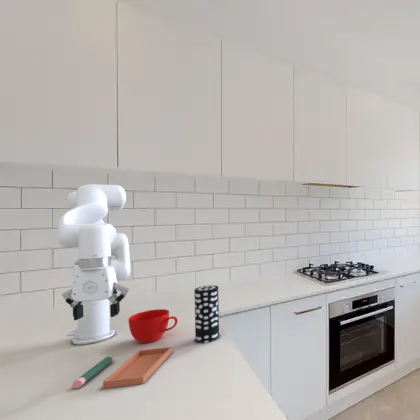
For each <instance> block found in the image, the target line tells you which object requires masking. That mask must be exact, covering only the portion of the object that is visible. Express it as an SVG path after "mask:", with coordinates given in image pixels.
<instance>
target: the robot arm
mask: <svg viewBox="0 0 420 420" xmlns="http://www.w3.org/2000/svg"><path fill="white" fill-rule="evenodd" d="M66 202H67V206H68V207H67V208H68V209H69V210H68V211H66V212H64V214H62V215H61V216H60V218H59V220H58V223H57V232H56V233H57V234H56V237H57V242H58V244H59V245H60V246H61V247H63V248H69V249H71V248H77V251H78V260H75V261H74V267H73V269H72V275H73V281H72V288H71V289H68V290H66V291H65V292H63V293H62V294H61V296H62V297H63V299H64V301H65V303H67V304H68V305H70V306H69V307H70V308H72V317H73V321H77V328H76V329H75V328H72V329H68V330H67V333H66V337H72V336H73V337H74V338H73V339H72V344H74V345H79V346H81V345H89V344H94V343H98V342H101V341H105V340H108V339H110V338H111V337H113V336H114V335H115V334H116V331H115V329H112V328H111V319H110V318H114V317H116V316H118V315H119V313H120V311H121V307H120V304H121V302H122V300H123V299H125V298H126V296H127V294H128V292H129V290H130V289H129V287H126V286H123V285H121V284H118V281H121V280H126V279H128V278H130V275H131V271H132V268H131V255H130V243H129V238H128V236H127V235H126V234H125V233H123V232H117V230H116V227H115V226H114V225H112V224H111V223H107V222H105V221H104V220H103V219H104V218H106V217H107V215H108V213H109V212H114V211H115V212H119V211H121V210H122V209H123V208H124V206H125V204H126V202H127V193H126V190H125V188H124V187H122V185H119V184H103V183H102V184H99V183H88V184H84V185H80V187H78V188H77V190H75V191H71V192H70V193H69V194H68V195H67V198H66ZM112 256H114V257H112ZM118 291H119V292H120V294H119V295H118ZM110 303H111V304H110Z"/></svg>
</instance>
